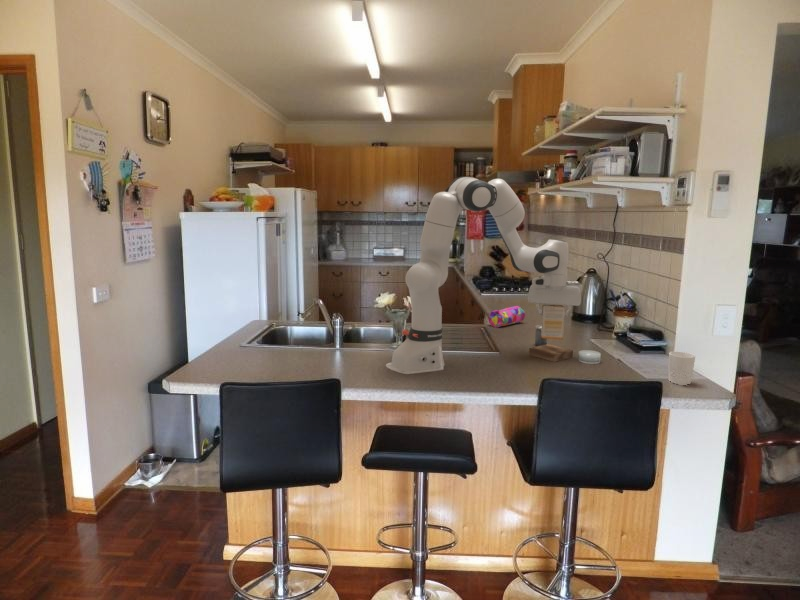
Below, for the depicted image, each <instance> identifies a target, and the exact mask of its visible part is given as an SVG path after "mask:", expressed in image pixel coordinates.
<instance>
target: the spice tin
mask: <svg viewBox="0 0 800 600" xmlns="http://www.w3.org/2000/svg"><path fill="white" fill-rule="evenodd" d="M534 327H535V334H534V335H535V337H534V338H535V339H534V347H537V346H542V345H546V344H548V339H546V338H542V337H541V324H536V325H535V326H534Z"/></svg>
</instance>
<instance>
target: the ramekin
mask: <svg viewBox="0 0 800 600" xmlns="http://www.w3.org/2000/svg"><path fill="white" fill-rule="evenodd" d="M601 355H602V354H601V352H599V351H597V350H589V349H582V350H579V351H578V361H579V362H581V363H584V364H589V365H598V364H600V363H601Z"/></svg>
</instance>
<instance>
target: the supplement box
mask: <svg viewBox="0 0 800 600" xmlns="http://www.w3.org/2000/svg"><path fill="white" fill-rule="evenodd" d="M565 309H566V307H565V305H557V304H542V307H541V310H542V315H541V323H540V325H541V337H542V338H546V339H547V340H548V339H550V340H563V339H564V329H565V328H564V327H565V316H564V313H565Z"/></svg>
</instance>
